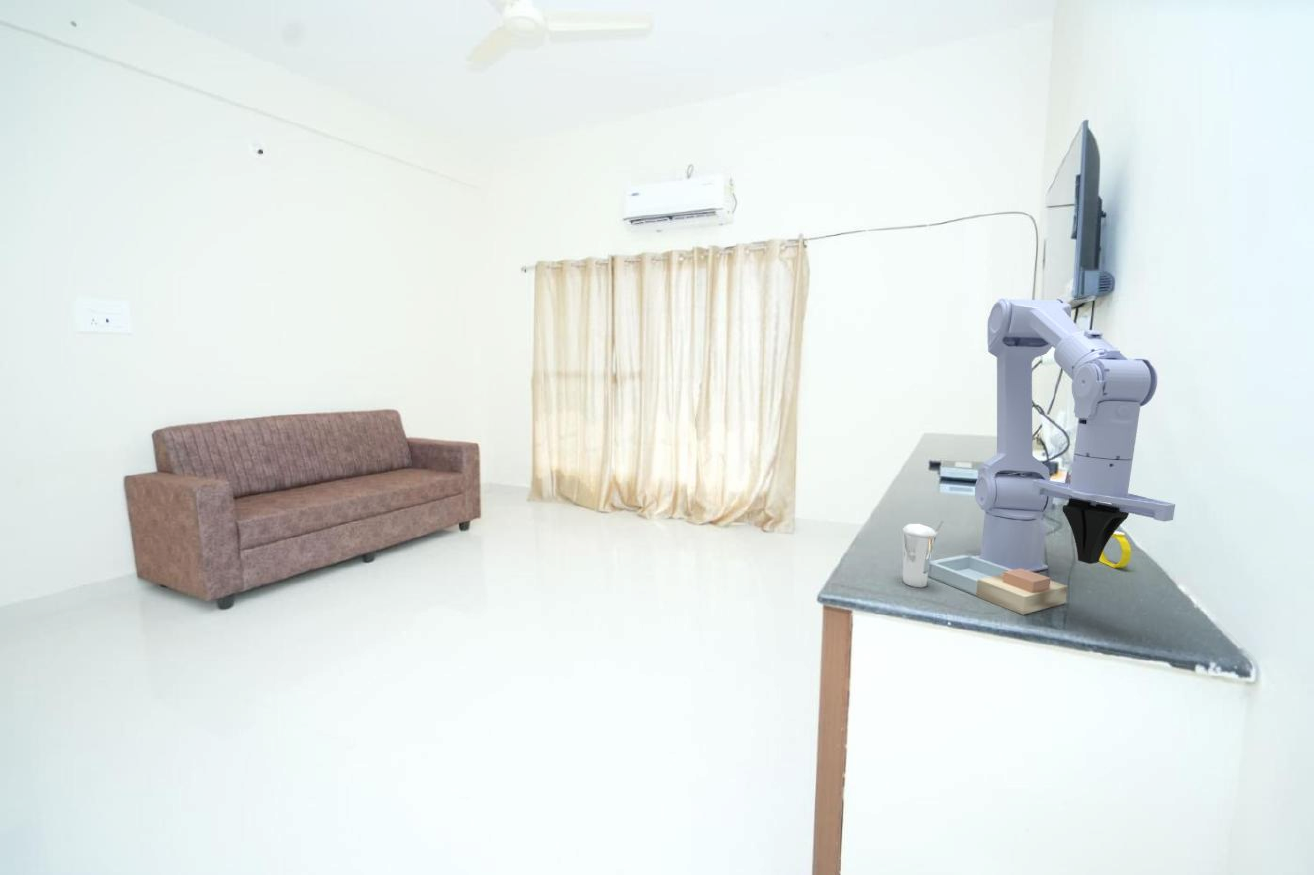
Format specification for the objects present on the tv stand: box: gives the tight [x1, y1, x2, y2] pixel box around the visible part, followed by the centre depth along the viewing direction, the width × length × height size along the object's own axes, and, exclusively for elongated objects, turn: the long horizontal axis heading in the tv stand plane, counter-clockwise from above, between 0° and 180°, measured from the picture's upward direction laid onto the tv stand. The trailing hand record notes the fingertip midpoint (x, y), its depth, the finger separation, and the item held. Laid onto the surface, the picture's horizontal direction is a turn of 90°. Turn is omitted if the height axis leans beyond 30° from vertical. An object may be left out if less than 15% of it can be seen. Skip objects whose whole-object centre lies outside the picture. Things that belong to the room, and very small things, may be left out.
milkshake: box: [902, 520, 944, 588], centre depth 82 cm, size 5×5×10 cm
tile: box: [1003, 568, 1052, 593], centre depth 76 cm, size 4×4×2 cm
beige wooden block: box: [975, 574, 1069, 616], centre depth 78 cm, size 10×6×2 cm, turn 116°
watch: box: [1099, 530, 1132, 569], centre depth 93 cm, size 6×3×6 cm, turn 0°
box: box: [927, 554, 1012, 597], centre depth 84 cm, size 10×8×2 cm
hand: (1088, 561), depth 70 cm, fingers closed
